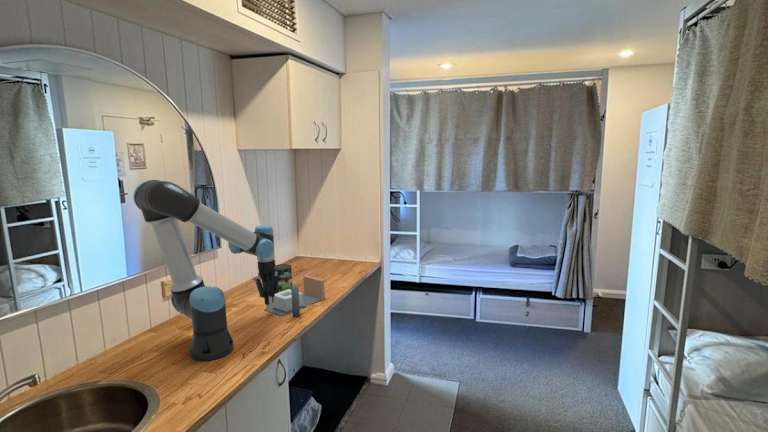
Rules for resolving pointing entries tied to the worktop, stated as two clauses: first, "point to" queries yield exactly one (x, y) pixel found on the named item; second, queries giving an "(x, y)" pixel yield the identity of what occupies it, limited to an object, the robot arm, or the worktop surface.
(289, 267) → the coffee can
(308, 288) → the wall
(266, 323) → the worktop surface
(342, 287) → the worktop surface
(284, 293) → the hole block
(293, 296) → the dowel
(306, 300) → the rubber mat
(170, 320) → the worktop surface
